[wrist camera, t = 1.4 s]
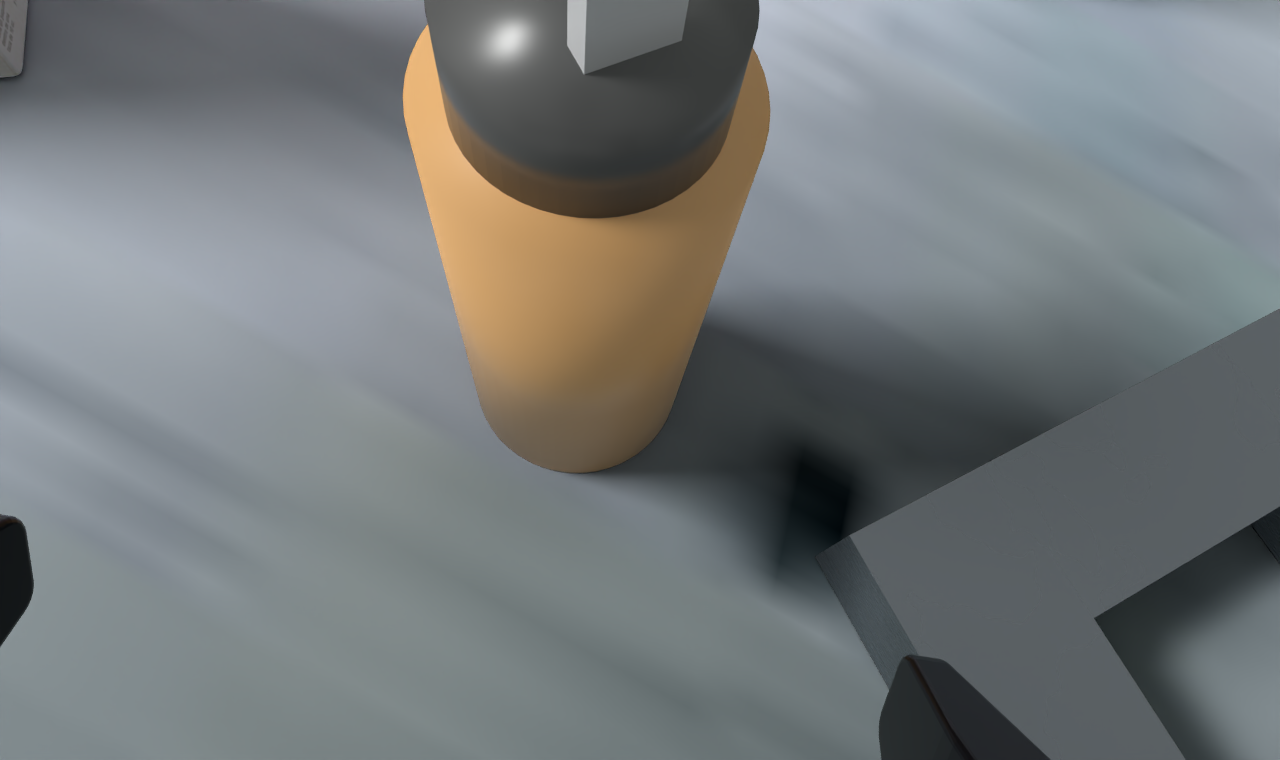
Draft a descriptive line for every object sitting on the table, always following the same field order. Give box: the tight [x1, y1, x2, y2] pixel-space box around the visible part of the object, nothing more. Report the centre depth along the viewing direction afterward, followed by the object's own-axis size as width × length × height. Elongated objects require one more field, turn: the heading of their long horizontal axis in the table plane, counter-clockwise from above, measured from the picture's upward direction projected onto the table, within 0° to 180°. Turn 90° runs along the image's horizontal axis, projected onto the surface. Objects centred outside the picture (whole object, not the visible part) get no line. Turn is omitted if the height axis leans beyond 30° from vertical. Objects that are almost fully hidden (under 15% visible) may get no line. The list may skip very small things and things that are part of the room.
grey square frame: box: [815, 309, 1280, 760], centre depth 21 cm, size 16×16×3 cm
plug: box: [403, 0, 770, 473], centre depth 17 cm, size 6×6×16 cm
